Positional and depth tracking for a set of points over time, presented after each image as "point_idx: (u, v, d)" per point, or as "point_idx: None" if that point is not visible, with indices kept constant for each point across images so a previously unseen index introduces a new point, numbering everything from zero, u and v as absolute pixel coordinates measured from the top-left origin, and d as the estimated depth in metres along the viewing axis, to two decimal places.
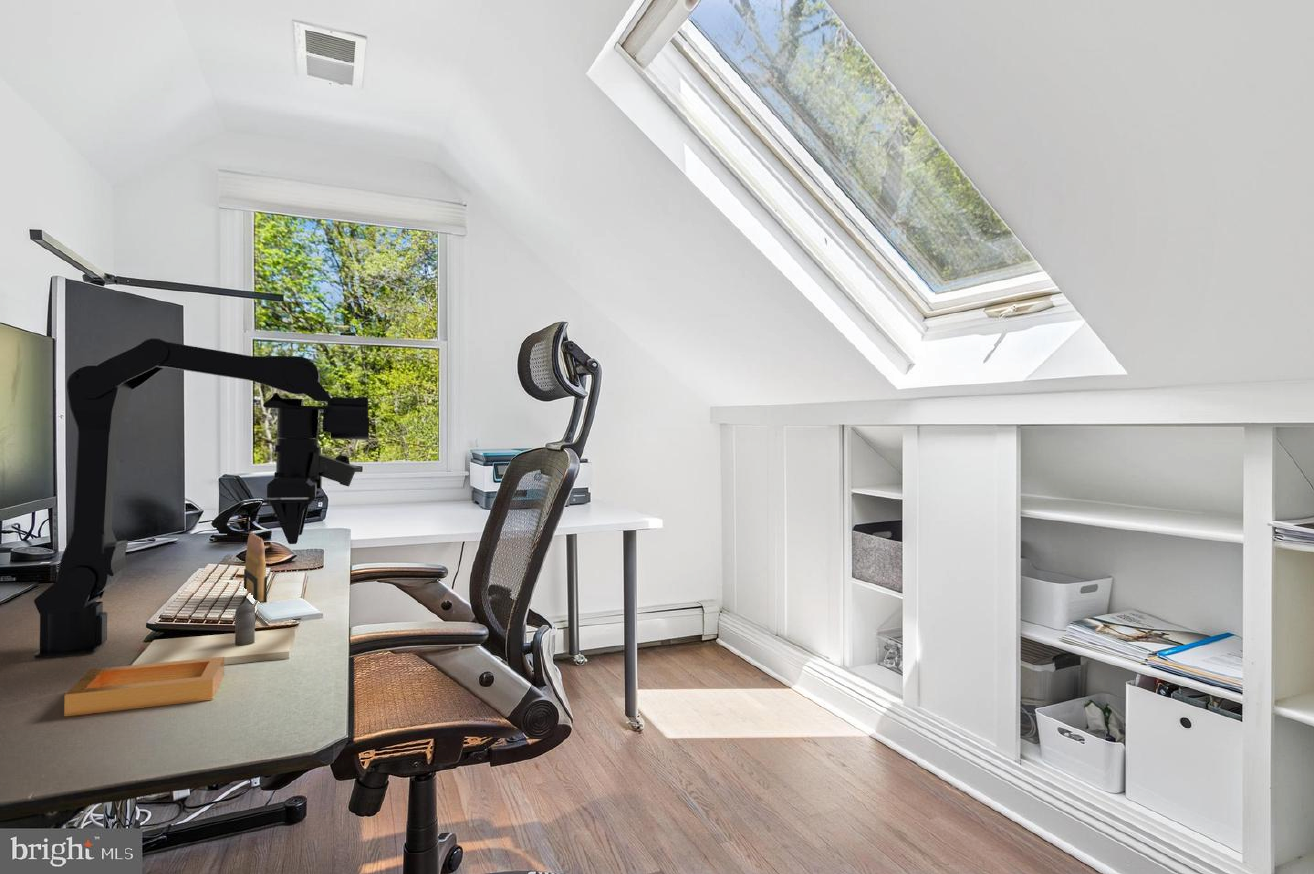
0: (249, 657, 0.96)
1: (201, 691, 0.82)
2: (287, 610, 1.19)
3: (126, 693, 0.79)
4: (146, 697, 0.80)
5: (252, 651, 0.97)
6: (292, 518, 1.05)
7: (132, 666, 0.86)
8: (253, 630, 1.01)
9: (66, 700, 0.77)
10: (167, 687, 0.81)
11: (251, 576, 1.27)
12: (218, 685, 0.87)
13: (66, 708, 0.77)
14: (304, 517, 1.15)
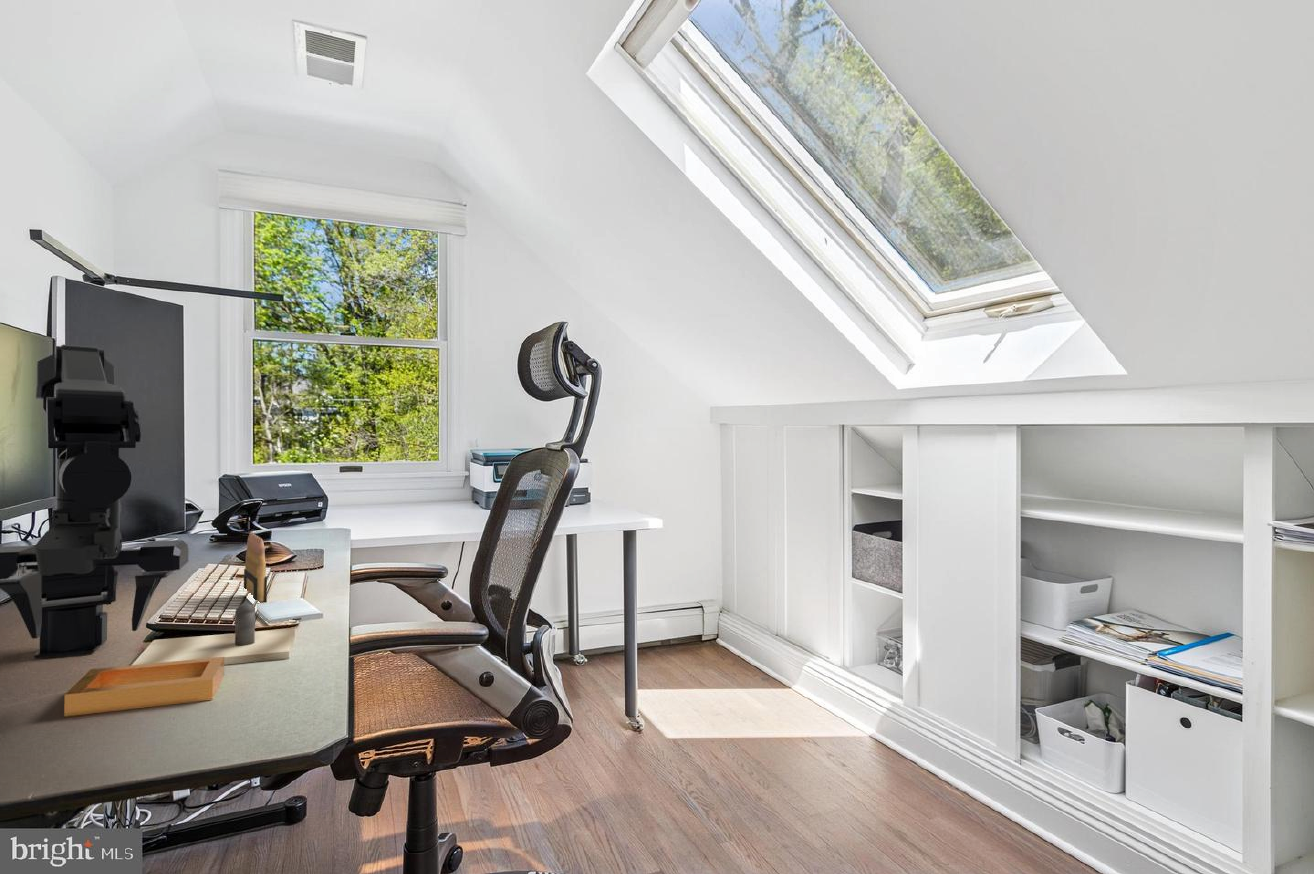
0: (249, 657, 0.96)
1: (201, 691, 0.82)
2: (287, 610, 1.19)
3: (126, 693, 0.79)
4: (146, 697, 0.80)
5: (252, 651, 0.97)
6: None
7: (132, 666, 0.86)
8: (253, 630, 1.01)
9: (66, 700, 0.77)
10: (167, 687, 0.81)
11: (251, 576, 1.27)
12: (218, 685, 0.87)
13: (66, 708, 0.77)
14: None
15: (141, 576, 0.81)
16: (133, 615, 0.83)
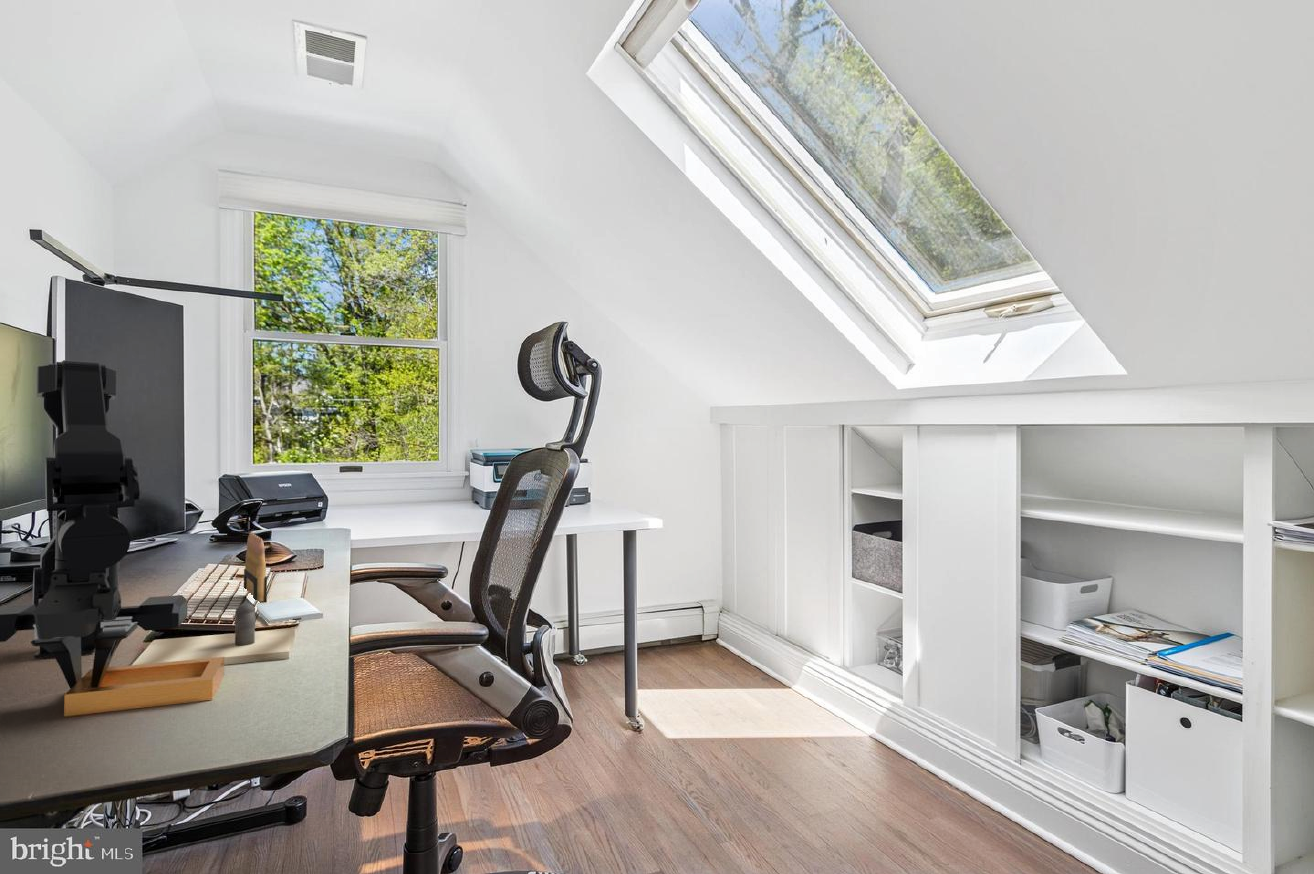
0: (249, 657, 0.96)
1: (201, 691, 0.82)
2: (287, 610, 1.19)
3: (126, 693, 0.79)
4: (146, 697, 0.80)
5: (252, 651, 0.97)
6: None
7: (132, 666, 0.86)
8: (253, 630, 1.01)
9: (66, 700, 0.77)
10: (167, 687, 0.81)
11: (251, 576, 1.27)
12: (218, 685, 0.87)
13: (66, 708, 0.77)
14: None
15: (100, 638, 0.80)
16: (92, 677, 0.81)
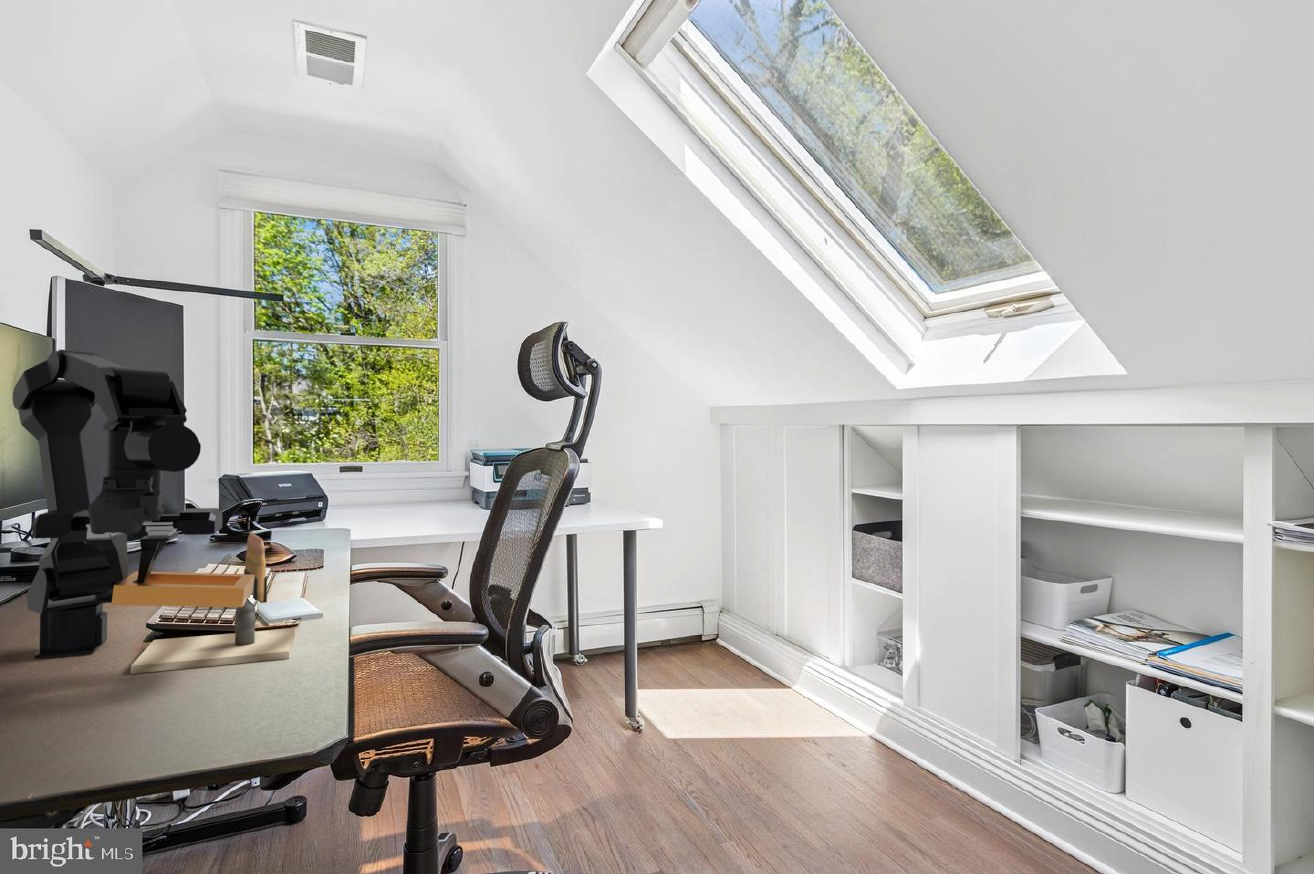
0: (249, 657, 0.96)
1: (233, 598, 0.90)
2: (287, 610, 1.19)
3: (167, 591, 0.88)
4: (184, 597, 0.88)
5: (252, 651, 0.97)
6: None
7: (172, 573, 0.95)
8: (253, 630, 1.01)
9: (114, 590, 0.86)
10: (204, 590, 0.89)
11: None
12: (247, 597, 0.95)
13: (114, 598, 0.86)
14: None
15: (145, 539, 0.88)
16: (138, 576, 0.90)
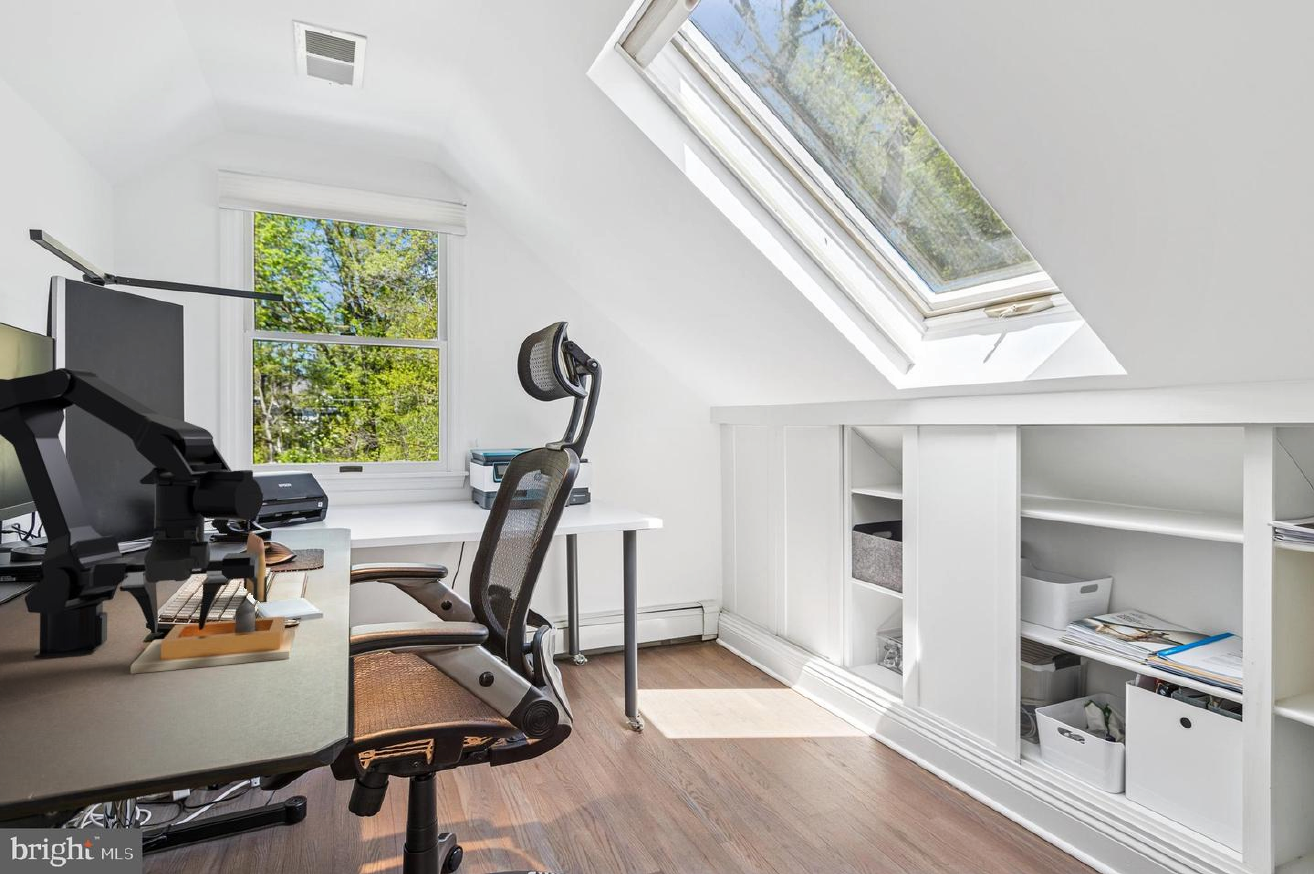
0: (249, 657, 0.96)
1: (270, 642, 0.98)
2: (287, 610, 1.20)
3: (210, 642, 0.95)
4: (226, 646, 0.96)
5: None
6: None
7: (209, 622, 1.02)
8: (253, 630, 1.01)
9: (162, 646, 0.93)
10: (243, 638, 0.97)
11: None
12: (282, 639, 1.03)
13: (162, 653, 0.93)
14: (200, 610, 0.98)
15: (208, 584, 0.97)
16: (200, 616, 0.98)
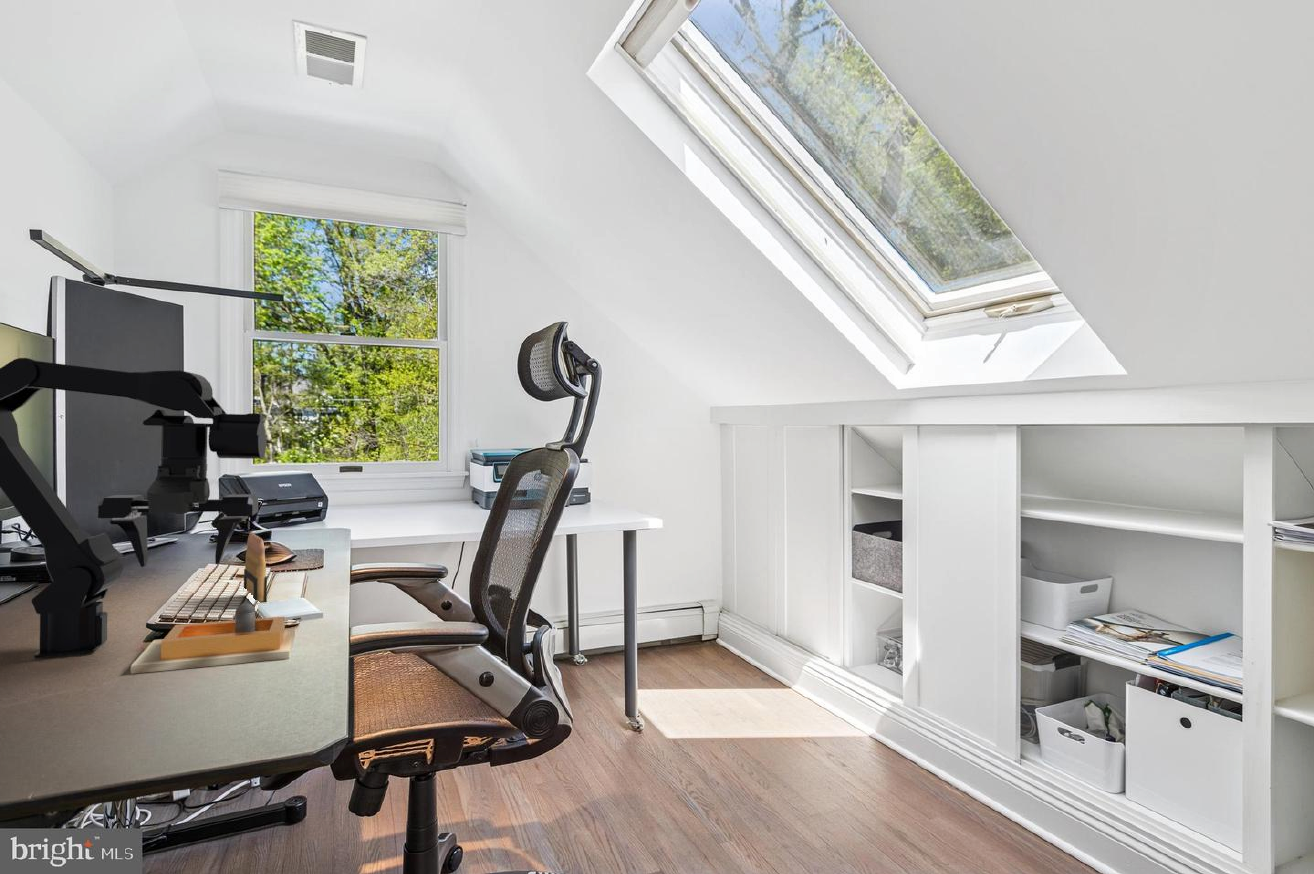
0: (249, 657, 0.96)
1: (270, 642, 0.98)
2: (288, 610, 1.20)
3: (210, 642, 0.95)
4: (226, 646, 0.96)
5: None
6: None
7: (209, 622, 1.02)
8: (253, 630, 1.01)
9: (162, 646, 0.93)
10: (243, 638, 0.97)
11: (251, 576, 1.27)
12: (282, 639, 1.03)
13: (162, 653, 0.93)
14: None
15: (223, 520, 1.03)
16: (216, 551, 1.04)
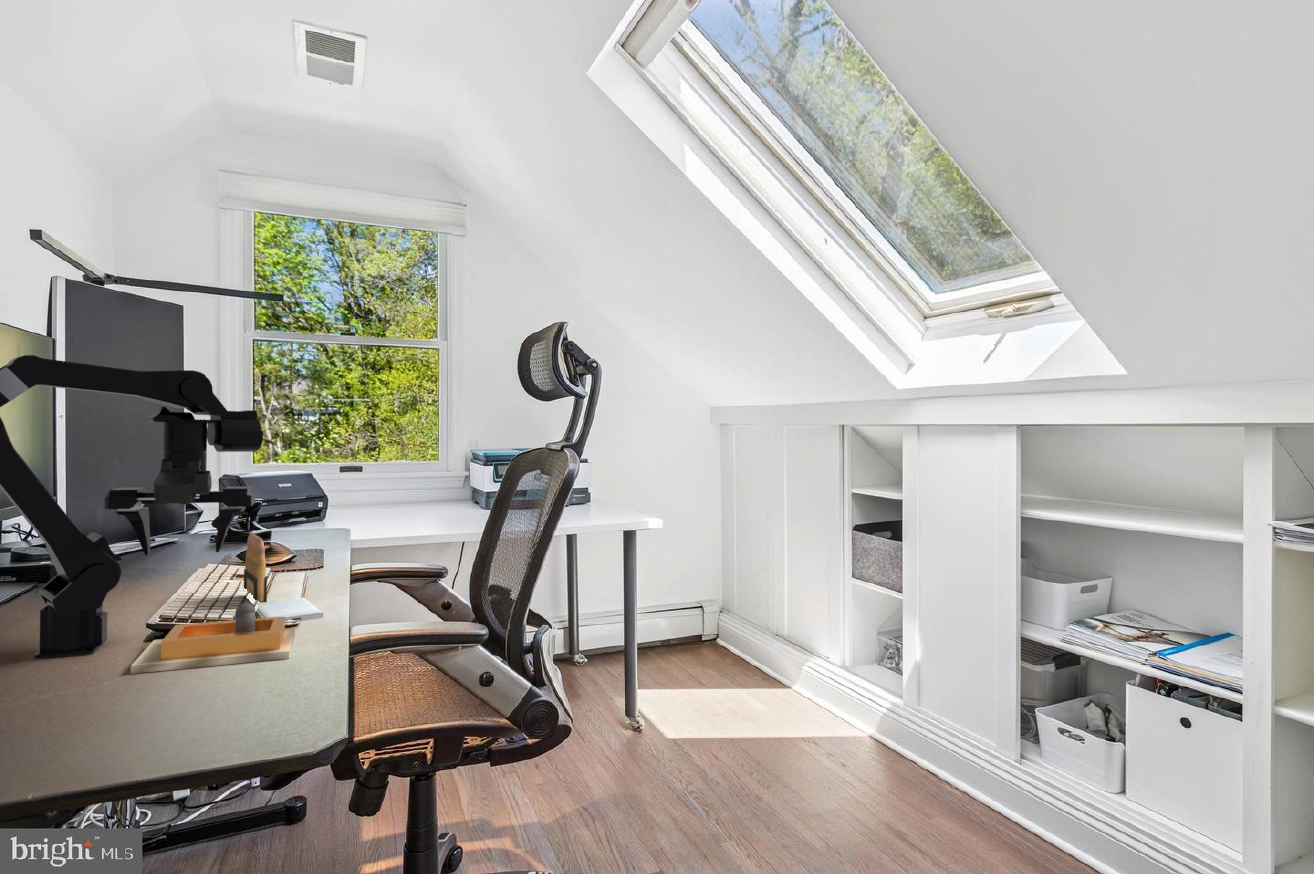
0: (249, 657, 0.96)
1: (270, 642, 0.98)
2: (288, 610, 1.20)
3: (210, 642, 0.95)
4: (226, 646, 0.96)
5: None
6: None
7: (209, 622, 1.02)
8: (253, 630, 1.01)
9: (162, 646, 0.93)
10: (243, 638, 0.97)
11: (251, 576, 1.27)
12: (282, 639, 1.03)
13: (162, 653, 0.93)
14: (217, 534, 1.11)
15: (224, 510, 1.09)
16: (217, 540, 1.11)
